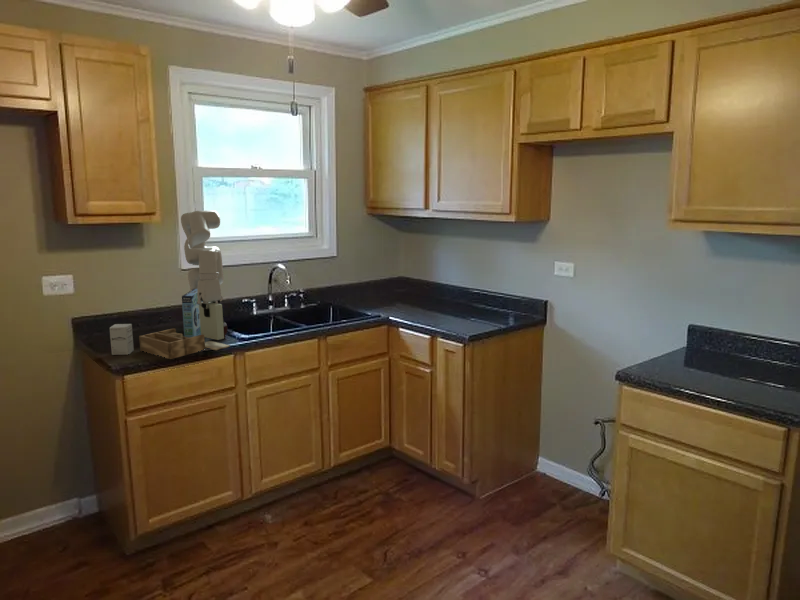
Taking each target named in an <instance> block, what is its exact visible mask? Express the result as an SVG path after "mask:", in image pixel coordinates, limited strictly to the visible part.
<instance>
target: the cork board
mask: <svg viewBox="0 0 800 600" xmlns="http://www.w3.org/2000/svg"><path fill="white" fill-rule="evenodd" d="M229 347H231V344H225V343H221V342H218V341H212V340H208V341H205V349H207V348H210V349H209V350H213V351H218V350H223V349H226V348H229Z"/></svg>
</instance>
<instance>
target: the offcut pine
mask: <svg viewBox="0 0 800 600" xmlns="http://www.w3.org/2000/svg"><path fill="white" fill-rule="evenodd" d="M166 335H170V336H174V337H178V338H182V339H183V336H184V334H183V333H178V332H176V333H169V334H166Z"/></svg>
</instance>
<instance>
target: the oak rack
mask: <svg viewBox="0 0 800 600" xmlns="http://www.w3.org/2000/svg"><path fill="white" fill-rule="evenodd" d="M169 333H177V328H176V327H175V328H170V329H165V330H161V331H156V332H150V333H147V334H143V335H138V340H139V351H140V352H142V351H144V352H143V353H146V352H147V354H149V353H151V354H150V355H153V354H155V355H154V356H157V355H159V356H158V357H160V356H162V357H161V358H164V357H165V359H167V360H168V359H169V360H172V359H177V358H180V357H183V356H187V355H191V354H194V353H198V351H199V352H202V351H201V350H203V351H205V350H206V348H205V342H206V340H205V337H204V335H198V336H194V337H190V338H188V337H184V335H183V339H182V338H178V337H174V336H170V335H166V334H169ZM204 349H205V350H204Z"/></svg>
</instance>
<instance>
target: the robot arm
mask: <svg viewBox="0 0 800 600" xmlns="http://www.w3.org/2000/svg"><path fill="white" fill-rule="evenodd" d="M180 223H181V227H182V229H183V232H184V234H185V236H186V240H185V242H184V244H183V245H184V246H183V248H184V255H185V261H186V262H187V264H189V265H192V266H198V267H196V268H192V269H190V270H189V271H188V272H187V280H188V284H189V289H190V290H189V291H191V290H192V289H197V298H198V301H197V304H199V305H200V306H202V308H204V316H205V317H210V311H209V309H208V304H209V302H211V303H217V304H221V302H222V301H223V300H224V298H223V296H222V292H221V291H222V290H221V285H222V284H223V283H224V269H223V256H222V252H221V249H220V248H219V247H218V246H215V245H214V246H206V242H207V241H208V240H209V239H210V238H211V231H210V229H212V230H213V229H217V228H219V227H220V225H221V216H220V214H219V212H218V211H217V210H194V211H192V212H191V211H190V212H185V213H182V215H181V216H180ZM201 301H203V303H202V302H201ZM205 303H206V305H205Z"/></svg>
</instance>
